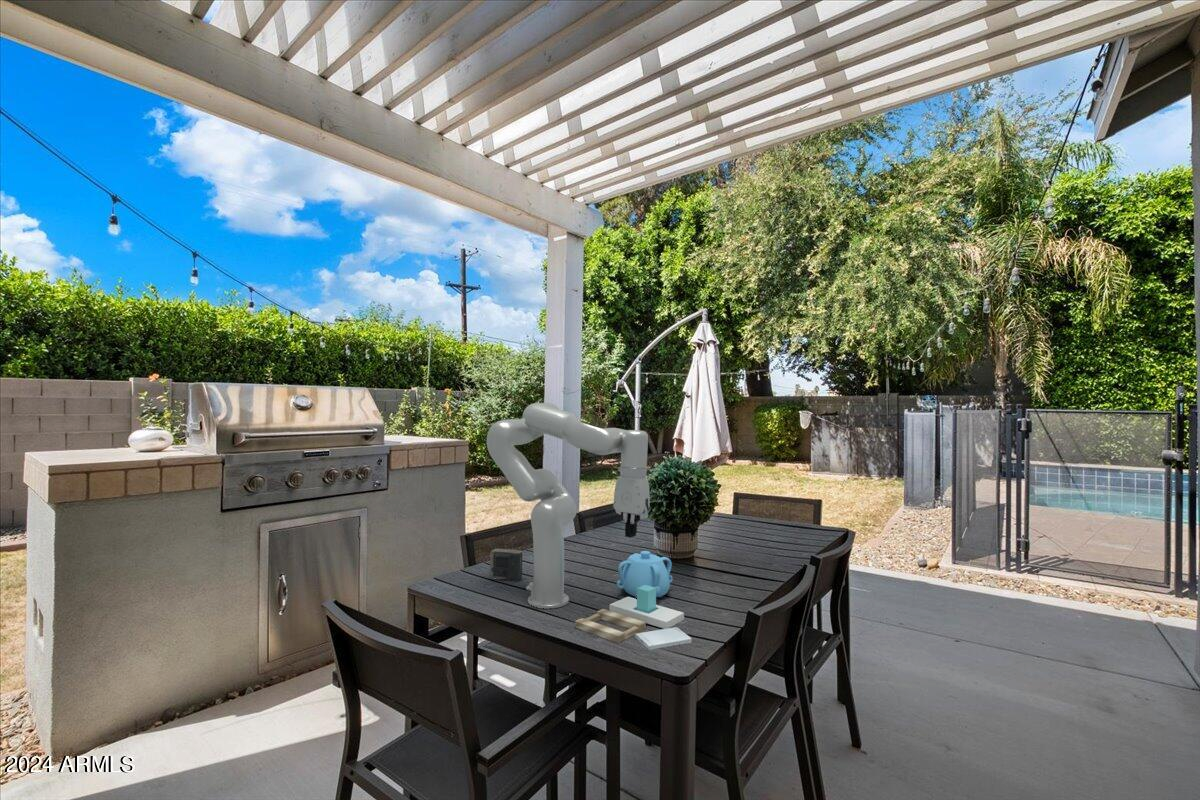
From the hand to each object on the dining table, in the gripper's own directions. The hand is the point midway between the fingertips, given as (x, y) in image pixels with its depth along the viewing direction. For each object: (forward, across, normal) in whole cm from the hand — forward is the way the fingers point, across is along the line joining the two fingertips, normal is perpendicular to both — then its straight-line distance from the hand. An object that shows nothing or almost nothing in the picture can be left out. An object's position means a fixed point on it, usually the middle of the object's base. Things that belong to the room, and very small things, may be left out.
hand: (630, 536), depth 160 cm
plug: (+23, +4, +4) cm, 24 cm away
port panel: (+23, +4, +4) cm, 23 cm away
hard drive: (+23, +17, -7) cm, 30 cm away
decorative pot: (+23, -6, +19) cm, 31 cm away
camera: (+25, -52, 0) cm, 58 cm away
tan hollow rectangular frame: (+23, +2, -10) cm, 25 cm away
